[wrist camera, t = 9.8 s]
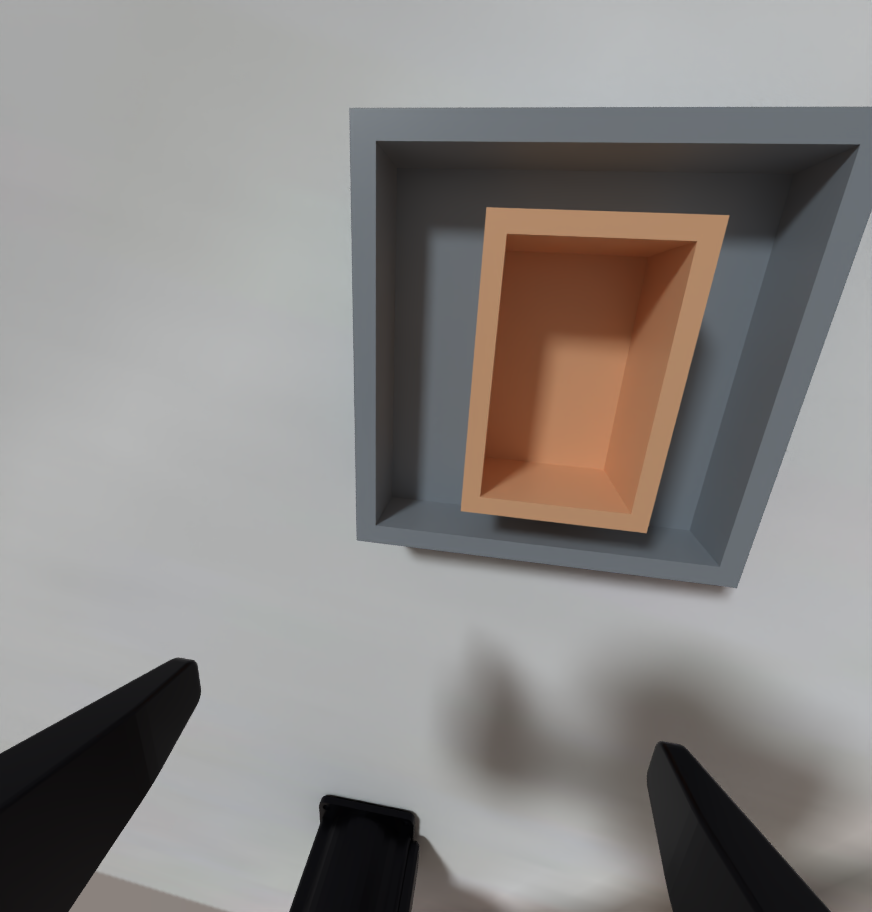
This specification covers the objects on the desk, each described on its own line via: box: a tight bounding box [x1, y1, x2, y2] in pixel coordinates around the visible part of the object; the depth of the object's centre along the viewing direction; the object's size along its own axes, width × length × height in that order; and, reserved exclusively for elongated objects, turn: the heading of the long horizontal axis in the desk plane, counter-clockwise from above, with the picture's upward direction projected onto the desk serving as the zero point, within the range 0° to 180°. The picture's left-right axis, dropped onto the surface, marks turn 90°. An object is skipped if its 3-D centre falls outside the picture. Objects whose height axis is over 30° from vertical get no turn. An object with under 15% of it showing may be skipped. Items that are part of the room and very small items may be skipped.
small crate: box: [461, 207, 730, 533], centre depth 14 cm, size 6×9×4 cm, turn 177°
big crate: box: [349, 107, 872, 588], centre depth 16 cm, size 15×15×4 cm
